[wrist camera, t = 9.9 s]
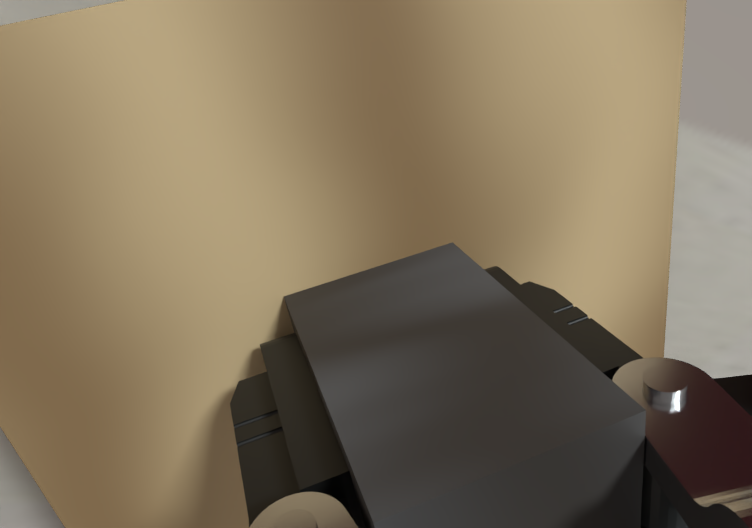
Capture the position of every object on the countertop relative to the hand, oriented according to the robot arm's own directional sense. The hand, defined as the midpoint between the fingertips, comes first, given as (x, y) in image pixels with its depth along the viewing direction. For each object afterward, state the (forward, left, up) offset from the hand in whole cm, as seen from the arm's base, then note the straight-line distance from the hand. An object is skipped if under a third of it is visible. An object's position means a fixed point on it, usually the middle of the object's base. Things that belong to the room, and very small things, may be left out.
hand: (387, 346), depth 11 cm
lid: (0, 0, -1) cm, 1 cm away
